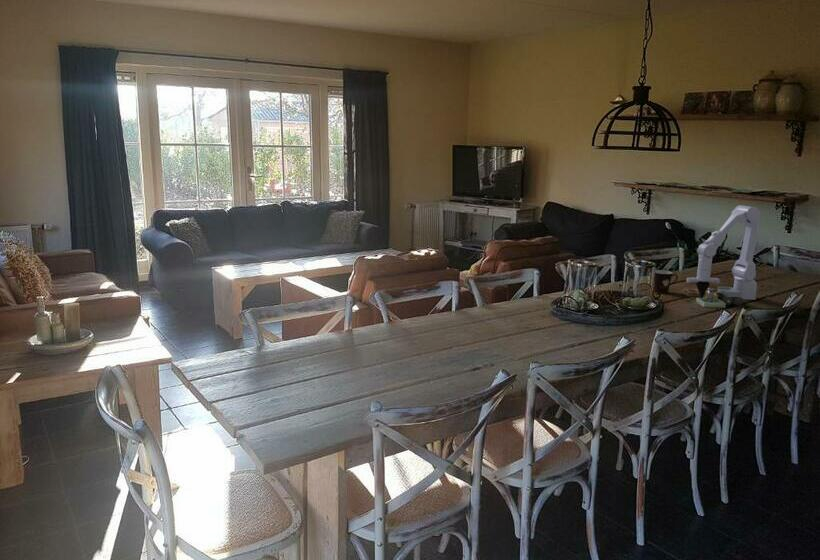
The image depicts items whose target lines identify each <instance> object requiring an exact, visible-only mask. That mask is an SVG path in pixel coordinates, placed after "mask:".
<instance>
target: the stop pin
mask: <svg viewBox="0 0 820 560" xmlns="http://www.w3.org/2000/svg"><path fill="white" fill-rule="evenodd" d="M715 290H716V289H715V288H712V287H708V288H707V291H708V296H707V303H713V294H715V292H716V291H715Z"/></svg>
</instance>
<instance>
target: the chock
mask: <svg viewBox="0 0 820 560" xmlns="http://www.w3.org/2000/svg"><path fill="white" fill-rule="evenodd" d="M707 296H708V290H706V291H705V293H704V296H703V298H707ZM713 298H718V295H716V294H715V293H714V294H713Z"/></svg>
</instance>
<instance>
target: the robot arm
mask: <svg viewBox="0 0 820 560" xmlns="http://www.w3.org/2000/svg"><path fill="white" fill-rule="evenodd" d="M760 215H761V211H760V210H759V209H758V207H755V206H748V205H743V204H739V205H737V206H736V207H734V209H733V210H732V211H731V214H730V216H729V218H727V220H726V221H725V222H724V224H723V225H722V226H721V227H720V229H718V230H715V231H713V232H712V233H711V235H710V236H709V237H708V238H707V240H705V241H704V242H703V243H701V244H699V245H698V248H696V253H697V254H698V262H697V263H698V264H697V270H696V271H697V272H696V276H695V277H694V276H693V277H686V283H695V285H696V287H697V288H696V289H698V291H699V297H698V298H703V296H704V293H705V291H708V288H710V283H712V284H714V283H715V284H720V278H716V277H711V272H712V263H713V257H714V256H715V255H716V254H717V250H718V248H719V247H720V246H721V244H722V243H723V242H724V241H725V240H726V235H727V234H728V233H729V232H730V231H731V230H732V229H733V228H734V227H735V226H737V224H740V223H743V224H744V225H745V231H744V235H743V236H744V237H743V241H742V247H741V251H740V255H739V259H736V260H735V262H734V265H733V267H732V268H731V274H732V276H733V279H734V280H733V281H734V282H733V287H732V288H734V289H736V290H738V291H740V292H741V298H743V300H747V301H749V300H750V301H752V300H753V301H754V300H757V296H756V295H757V289H758V284H757V282H756V280H755V278H756V274H757V270H756V264H755V262H754V261H753V259H754V254H755V250H756V245H757V240H758V236H759V231H760V226H761V220H760Z"/></svg>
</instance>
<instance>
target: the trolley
mask: <svg viewBox="0 0 820 560" xmlns="http://www.w3.org/2000/svg"><path fill="white" fill-rule="evenodd" d="M716 290H717V291H714V294H716V295H718V299H719V300H721V301H723V302H724V303H726V306H730V305H732V304H734V305H735V306H737V307H739V306H741V305H743V303H744V299H743V298H741V292H740V291H738V290H736V289H734V288H733V287H732V286H717V289H716Z"/></svg>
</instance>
